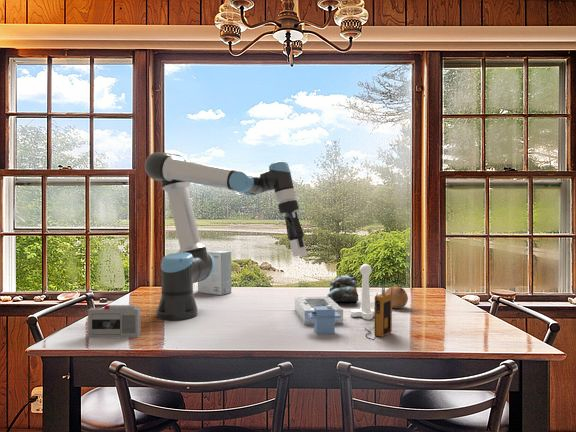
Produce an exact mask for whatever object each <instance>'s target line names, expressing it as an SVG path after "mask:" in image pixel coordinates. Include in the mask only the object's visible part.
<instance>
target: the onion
mask: <svg viewBox="0 0 576 432" xmlns="http://www.w3.org/2000/svg"><path fill="white" fill-rule="evenodd" d="M391 289H392V309H402V308H404V307H405V306H406V305H407V304H408V301H409V296H408V293H407V291H406V290H405V289H404V288H402V286H391V287H388V288H387V289H385V293H389V294H391Z"/></svg>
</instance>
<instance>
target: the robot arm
mask: <svg viewBox="0 0 576 432" xmlns="http://www.w3.org/2000/svg"><path fill="white" fill-rule="evenodd" d="M144 171H145V173H146V174H147V176H148V177H150V178H151V180H153V181H157V182H160V183H161V184H160V185H161V189H162V190H163V191H165V192H166V193H167V197H168V201H169V206H170V211H171V214H172V219H173V222H174V227H175V232H176V236H177V239H178V244H179V250H178V252H175V253H174V252H173V253H168V254H167V255H164V256H163V257H162V258H161V265H160V269H161V275H160V277H161V297H160V300H159V302H158V303H159V304H158V305H157V309H156V318H158V319H159V320H167V321H179V320H180V321H181V320H189V319H191V318H195V317H196V316H198V314H199V313H198V306H197V303H196V300H195V296H194V284H195V283H198V282H200V281H203V280H205V279H207V278H208V277H209V276H210V275H211V274H212V272H213V270H214V260H213V258H212V256H211V255H210V254H209V253H207V251H208V250H207V247H206V245H204V243H203V244H202V242H201V238H200V233H199V229H198V225H197V222H196V216H195V213H194V209H193V204H192V200H191V196H190V191H189V187H190V185H191V183H192V184H197V185H203V186H209V187H212V188H213V187H214V188H219V189H224V190H230V191H235V192H237V193H242V194H243V193H244V194H245V196H247V197H251V196H256V195H259V194H261V193H262V194H263V193H265V192H269V191H273V190H274V195H275V200H276V203H277V204H278V205H277V207H278V211H279V214H285V216H283V217H284V220H285V227H286V232H287V233H286V234H287V240H289V244H290V248H291V252H292V256H293V257H294V258H295V257H298V256H299V258H301V257H307V256H308V252H307V248H306V244H305V240H304V236H305V235H304V231H303V228H302V226H301V222H300V220H299V217H298V213H297V211H298V210H299V209H300V207H299V204H298V203H299V202H298V200H297V196H296V194H297V191H296V190H295V186H294V183H293V179H292V172H291V170H290V167H289V163H288V162H287V161H285V160H279V161H275V162H273V163H270V164H268V170H265V171H263V172H259V173H255V172H249V171H245V170H238V169H233V168H226V167H220V166H216V165H215V166H214V165H208V164H203V163H198V162H192V161H189V160H188V159H187V158H186V157H184V156H181V155H180V154H175V153H174V154H173V153H167V152H164V151H163V152H162V151H156V152H153V153H150V155H148V156H147V157H146V159H145V161H144Z"/></svg>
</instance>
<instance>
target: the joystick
mask: <svg viewBox="0 0 576 432" xmlns="http://www.w3.org/2000/svg"><path fill="white" fill-rule="evenodd" d="M359 272H360V274H361V276H362V280H361V281H362V283H361V298H360V308H357V309H356V308H355V309H350V317H354V318H356V317H361V318H362V319H363V320H372V319H373V318H374V308H371V297H370V296H371V295H370V274H372V272H373V271H372V266H371V265H369V264H368V263H364V264H362V265H360V267H359Z"/></svg>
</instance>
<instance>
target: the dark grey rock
mask: <svg viewBox="0 0 576 432" xmlns="http://www.w3.org/2000/svg"><path fill="white" fill-rule="evenodd" d="M329 286H330V287H329V293H328V294H327V295H326V297H327V296H329V297H330V298H331V299H332V300H333V301H334V302H335V303H337V302H347V303H348V302H350V303H357V302H359V294H358V291H357V286H358V277H357V276H354V274H349V275H345V274H343V275H339V276H337V278H335V279H333V281H332V280H331V282H330V283H329Z"/></svg>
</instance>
